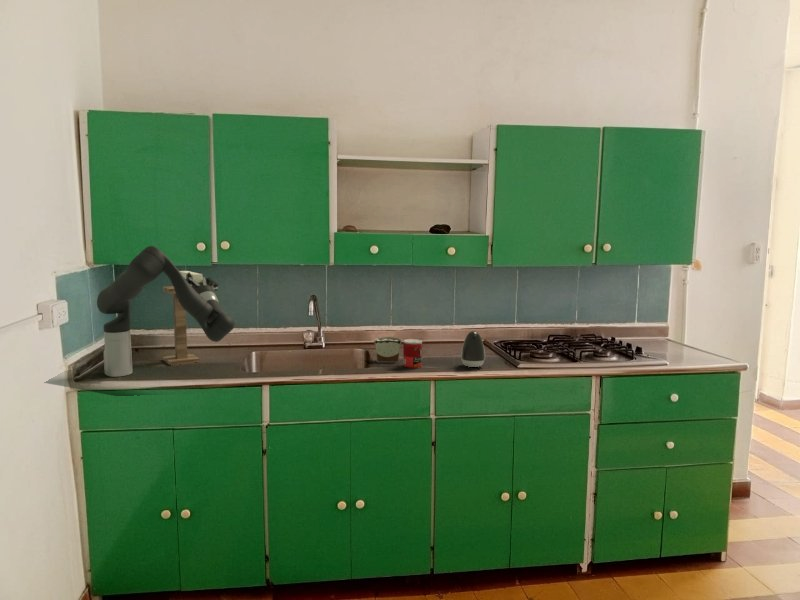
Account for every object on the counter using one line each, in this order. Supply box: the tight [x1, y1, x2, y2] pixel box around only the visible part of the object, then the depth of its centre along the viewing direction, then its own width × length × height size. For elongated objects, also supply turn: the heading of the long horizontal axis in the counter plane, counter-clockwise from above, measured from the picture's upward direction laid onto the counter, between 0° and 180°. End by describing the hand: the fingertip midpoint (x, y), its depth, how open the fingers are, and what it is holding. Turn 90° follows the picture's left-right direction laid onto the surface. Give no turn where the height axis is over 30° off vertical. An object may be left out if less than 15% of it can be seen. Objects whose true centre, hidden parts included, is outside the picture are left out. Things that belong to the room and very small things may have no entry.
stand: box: [162, 285, 201, 367], centre depth 244 cm, size 12×12×32 cm
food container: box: [373, 336, 403, 363], centre depth 250 cm, size 12×6×10 cm, turn 92°
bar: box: [179, 270, 204, 283], centre depth 227 cm, size 21×4×4 cm, turn 36°
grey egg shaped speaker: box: [460, 330, 486, 368], centre depth 240 cm, size 10×10×15 cm
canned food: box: [402, 338, 423, 369], centre depth 240 cm, size 8×8×11 cm
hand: (193, 274), depth 222 cm, fingers closed on bar, 3 cm apart
